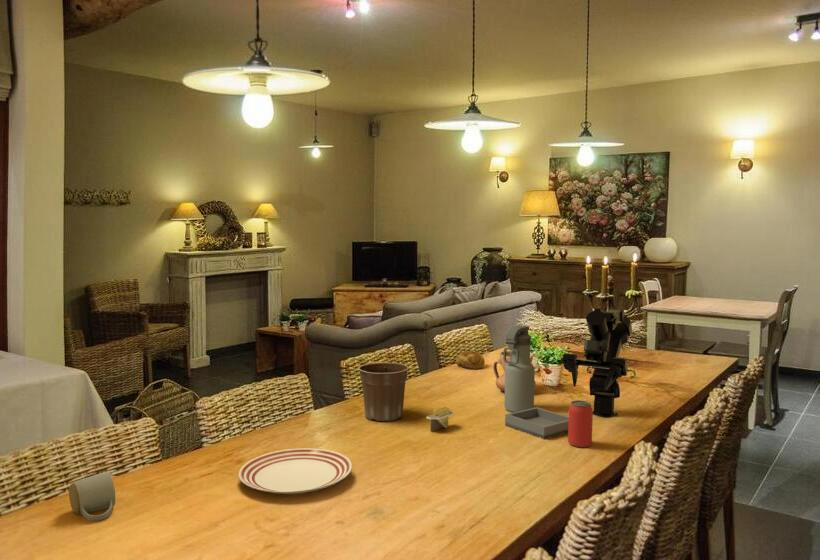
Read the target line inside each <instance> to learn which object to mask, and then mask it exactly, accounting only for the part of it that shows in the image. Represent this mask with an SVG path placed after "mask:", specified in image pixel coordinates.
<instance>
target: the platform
mask: <svg viewBox="0 0 820 560" xmlns="http://www.w3.org/2000/svg"><path fill="white" fill-rule="evenodd" d="M453 415H454V412H453V411H451V410H450V407H448V406H443V407H440V408H438V409H434V410H433V413H432V414H430V415H427V416H426V419H427V420H430V432H433V431H437V430H439V429H441V428H445V429H447V428H449V417H451V416H453Z"/></svg>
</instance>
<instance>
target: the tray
mask: <svg viewBox="0 0 820 560" xmlns="http://www.w3.org/2000/svg"><path fill="white" fill-rule="evenodd" d="M504 418H505V419H504V426H505V427H508V428H511V429H514V430H516V429H517V431H519V430H520V432H522V431H523V432H522V433H525V432H526V433H525V434H528V433H529V435H531V434H532V436H533V435H534V437H536V436H537V437H536V438H539V437H541V438H540V439H542V438H543V440H546V439H545V438H547V439H550V438H554V437H556V436H560V434H561V435H563V433H565V434H568V433H567V432H568V422H569V415H564V414H561V413H557V412H554V411H551V410H547V409H544V408H541V407H538V406H534V408H531V409H527V410H522V411H518V412H510V413H505V415H504ZM553 436H554V437H553ZM549 437H550V438H549Z"/></svg>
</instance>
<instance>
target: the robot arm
mask: <svg viewBox="0 0 820 560" xmlns="http://www.w3.org/2000/svg"><path fill="white" fill-rule="evenodd" d="M585 321H586V324H587V328H588V334H590V338H589V339H586V340H584V347H583V351H584V353H583V356H584V358H578V355H577V353H569V352H567V353H566V352H565V353H564V354H562V358H561V361H562V364H563V368H564V370H566V371H567V372H569V373H571V377H572V378H571V379H572V386H573V387H575V388H576V386H577V382H578V375H579V371H578V369H579V366H582V367H591V368H594V369H593V373H592V375H591V376H590V378H589V385H588V386H589V396H593V397H594V399H593V415H596V416H599V417H603V418H609V417H613V416H617V415H618V413H619V412H616V411H615V399H618V398H620V397H621V390H620V389H621V388H620V384H619V382H618V379H619V378H622V377H626V376H627V374H628V364H627V363H628V362H627V360H626V358H623V357H621V358H620V357H619V356H620V353H621V349H622V346H623V345H626V344H627V343H628V342H629V339H630V337H632V333H633V327H632V321H631V319H630V318H629V317H628V316H627V315H626V314H625V310H624V309H622V308H609V309H608V310H607V311H602V308H598V307H597V308H594V309H593V310H592V311H590V312H589V313H588V314H587V315H586V316H585Z"/></svg>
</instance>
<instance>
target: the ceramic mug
mask: <svg viewBox="0 0 820 560" xmlns="http://www.w3.org/2000/svg"><path fill="white" fill-rule="evenodd" d="M68 497H69V504H70V507H71V511H72V512H73V513H74V514H75V515H82V516H83V517H84V518H85V519H86V520H88V521H91V522H99V521H102V520H105V519H107V518H108V517H109V516H110V515H111V514H112V511H113V507H114V506H115V505H116V498H117V497H116V490H115V484H114V480H113V477H112V475H111V474H110V472H109V471H104V472H102V473H101V472H100V473H98V474H94V475H91V476H87V477H85V478H81V479H77V480H76V481H73V482H71V483H70V485H69V487H68ZM106 509H107V510H106ZM102 510H106V511H105V512H104V513H102V514H98V515H97V514H96V515H93V514H90V513H92V512H93V513H94V512H97V511H102Z"/></svg>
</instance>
